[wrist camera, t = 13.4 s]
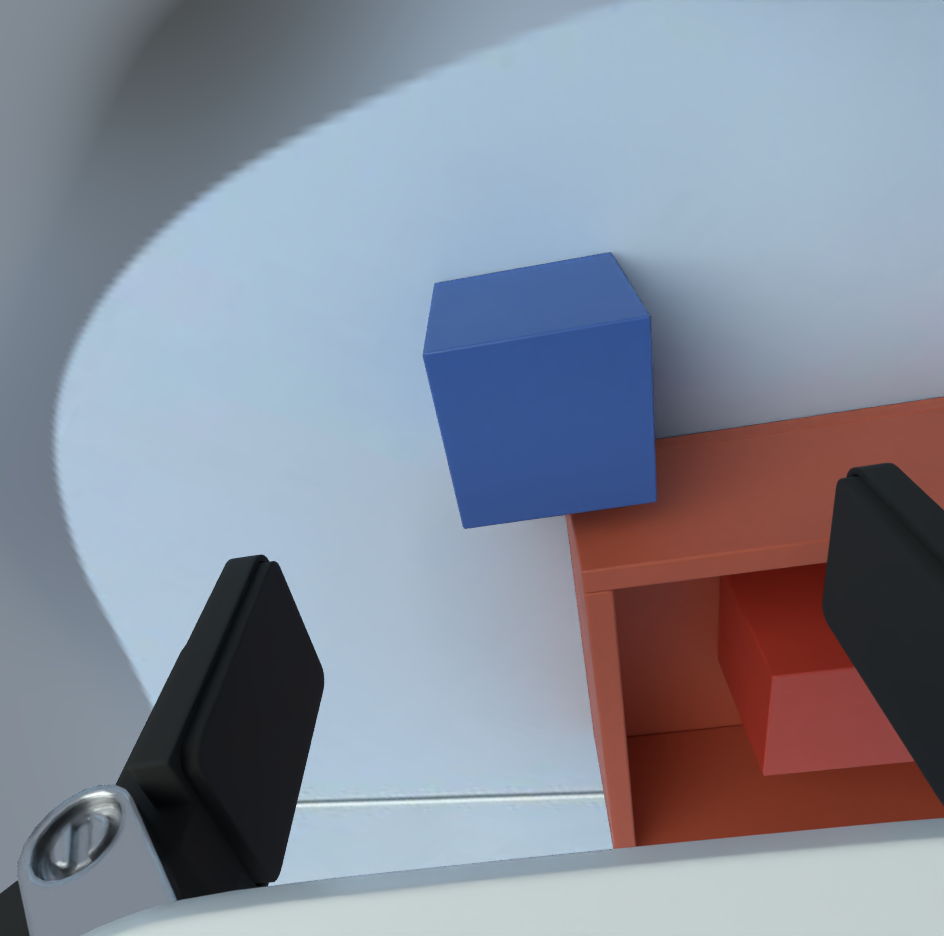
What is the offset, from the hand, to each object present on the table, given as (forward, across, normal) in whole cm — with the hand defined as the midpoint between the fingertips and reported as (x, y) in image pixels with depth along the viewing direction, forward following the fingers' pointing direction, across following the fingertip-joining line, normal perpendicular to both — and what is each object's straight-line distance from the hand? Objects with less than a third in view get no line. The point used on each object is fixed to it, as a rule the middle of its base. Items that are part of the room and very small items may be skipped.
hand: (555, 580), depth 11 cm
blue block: (+8, 0, -1) cm, 8 cm away
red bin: (+8, -7, +9) cm, 14 cm away
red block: (+8, -7, +9) cm, 14 cm away
